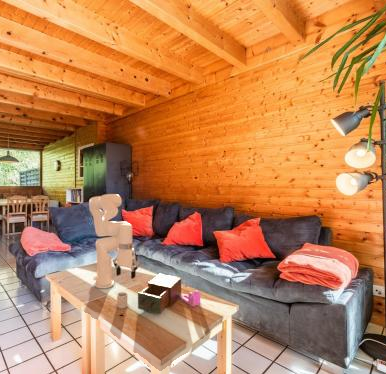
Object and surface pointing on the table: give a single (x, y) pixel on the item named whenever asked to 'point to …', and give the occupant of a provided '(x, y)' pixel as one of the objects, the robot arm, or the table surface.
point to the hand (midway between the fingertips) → (125, 276)
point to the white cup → (122, 300)
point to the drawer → (153, 299)
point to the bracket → (191, 298)
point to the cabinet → (168, 285)
